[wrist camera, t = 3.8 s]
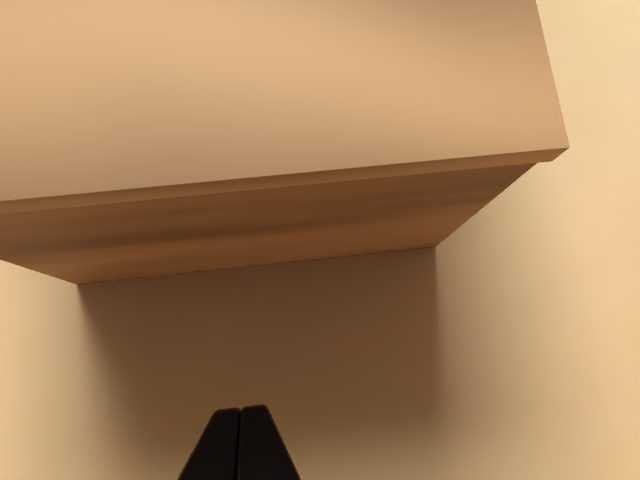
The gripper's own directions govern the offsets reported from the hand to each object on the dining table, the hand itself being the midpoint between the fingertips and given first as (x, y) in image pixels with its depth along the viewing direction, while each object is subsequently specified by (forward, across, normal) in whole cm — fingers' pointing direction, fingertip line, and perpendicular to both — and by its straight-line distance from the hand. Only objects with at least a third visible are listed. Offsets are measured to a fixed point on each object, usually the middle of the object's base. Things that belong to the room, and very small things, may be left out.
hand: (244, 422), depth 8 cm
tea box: (+11, 0, -1) cm, 11 cm away
